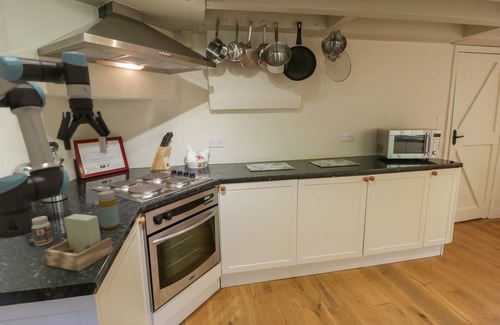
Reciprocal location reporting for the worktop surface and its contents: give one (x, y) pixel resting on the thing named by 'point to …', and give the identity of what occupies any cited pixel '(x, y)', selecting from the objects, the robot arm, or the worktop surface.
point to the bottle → (108, 209)
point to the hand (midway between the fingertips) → (88, 156)
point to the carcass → (77, 255)
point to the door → (82, 232)
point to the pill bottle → (41, 231)
